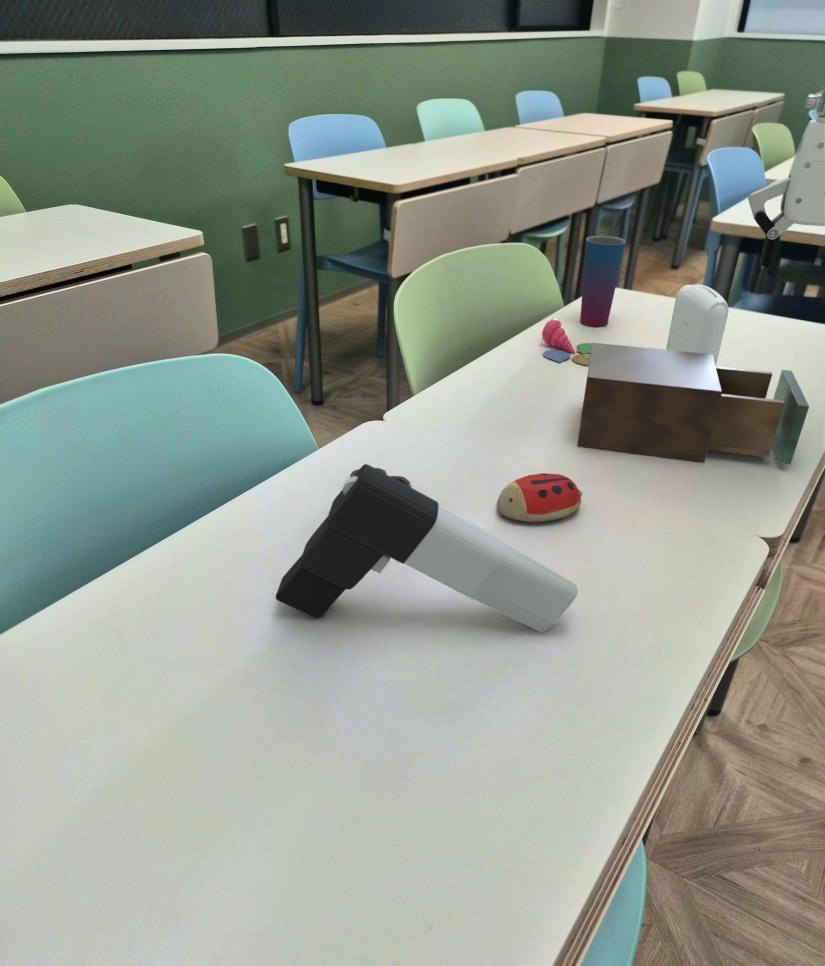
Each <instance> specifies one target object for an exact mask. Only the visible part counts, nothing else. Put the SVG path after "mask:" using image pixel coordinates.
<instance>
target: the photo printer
mask: <svg viewBox="0 0 825 966" xmlns="http://www.w3.org/2000/svg"><path fill="white" fill-rule="evenodd" d="M673 305H674V306H673V311H672V316H671V320H670V327H669V330H668V337H667V341H666V342H667V343H666V347H665V348H666V349H665V350H673V351H683V352H693V353H703V354H712V355H713V358H714V362H715V366H717V363H718V359H719V354H720V349H721V346H722V342H723V336H724V333H725V328H726V325H727V320H728V316H729V305H728V303H727V301H726V299H724V297H723V296H722V295H721V294H720V293H718V292H717V291H716V290H715V289H713V288H711V287H709V286H707V285H705V284H700V283H699V284H698V283H697V284H687V285H684V286H682V287H681V288H680V289H679V290H678V292H677V294H676V296H675V300H674V304H673Z"/></svg>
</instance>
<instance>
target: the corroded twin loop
mask: <svg viewBox="0 0 825 966" xmlns="http://www.w3.org/2000/svg"><path fill="white" fill-rule="evenodd" d="M374 468H375V469H377V470H379V471H381V472H383V473H385V474H386V475H387V471H386V470H385V469H383V468H380V467H374ZM359 469H360V468H358V469H354V470H353V471H351V473H350V475H349V478H350V477H353V476H354V475H355V474H356V473H357V472H358V470H359ZM389 476H390V477H392V478H394V479H396V480H398V481H400V482H401V483H403V484H405V485H407V486H409V487H411V488H412V485H411V482H410V480H409V479H407V478H406V477H405V476H402V475H389Z"/></svg>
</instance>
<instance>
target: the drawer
mask: <svg viewBox="0 0 825 966" xmlns="http://www.w3.org/2000/svg"><path fill="white" fill-rule="evenodd" d="M716 370H717V374H718V378H719V382H720V386H721V390H722V394H721V399H720V403H719V407H718V410H717V414H716V418H715V422H714V426H713V430H712V434H711V438H710V442H709V446H708V450H707V451H714V452H722V453H723V452H724V453H730V454H731V453H732V454H739V455H747V456H757V457H762V458H763V457H764V458H769V456H770V453H771V450H772V446H774V449H775V453H776V455H777V458H778V461H779V463H780V465H791V464H792V461H793V458H794V455H795V452H796V450H797V446H798V443H799V440H800V437H801V433H802V430H803V428H804V424H805V421H806V418H807V415H808V412H809V409H810V405H809V403H808V401H807V399H806V397H805V395H804V393H803V391H802V389H801V386H800V384H799V383H798V381H797V378H796V377H795V374H794V373H793V370H790V369H781V372H780V374H779V379H778V382H777V385H776V388H775V392H774V396H773V398H767V394H768V390H769V387H770V384H771V380H772V377H773V372H772V371H766V370H757V369H746V368H737V367H727V366H719V365H718V366H717V365H716Z"/></svg>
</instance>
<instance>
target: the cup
mask: <svg viewBox="0 0 825 966" xmlns="http://www.w3.org/2000/svg"><path fill="white" fill-rule="evenodd" d="M626 242H627V241H626V239H624V238H622V237H618V236H612V235H611V236H610V235H591V236H588V237H586V238H585V250H584V265H583V275H582V277H583V278H582V289H581V290H582V291H581V305H580V315H579V316H580V320H579V322H580V324H582V325H583V326H586V327H590V328H603V327H606V326H608V323H609V319H610V314H611V309H612V305H613V300H614V296H615V292H616V287H617V282H618V278H619V273H620V270H621V265H622V261H623V260H622V259H623V255H624V251H625V246H626Z"/></svg>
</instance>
